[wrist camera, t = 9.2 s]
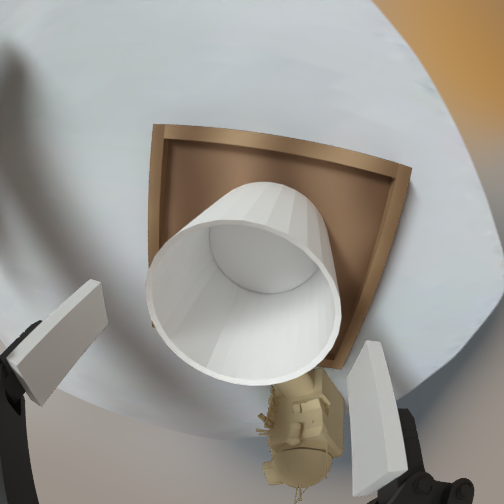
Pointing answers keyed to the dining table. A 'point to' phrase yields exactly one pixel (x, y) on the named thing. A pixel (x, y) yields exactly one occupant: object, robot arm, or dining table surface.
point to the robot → (303, 430)
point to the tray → (296, 177)
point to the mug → (248, 287)
